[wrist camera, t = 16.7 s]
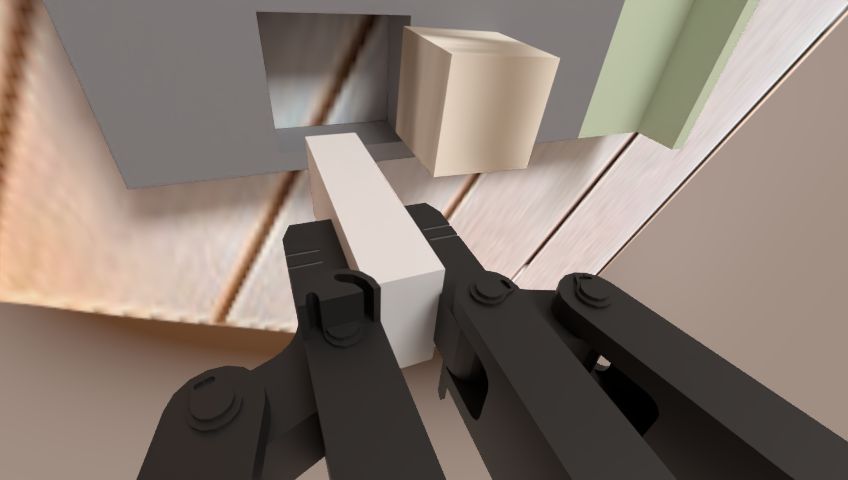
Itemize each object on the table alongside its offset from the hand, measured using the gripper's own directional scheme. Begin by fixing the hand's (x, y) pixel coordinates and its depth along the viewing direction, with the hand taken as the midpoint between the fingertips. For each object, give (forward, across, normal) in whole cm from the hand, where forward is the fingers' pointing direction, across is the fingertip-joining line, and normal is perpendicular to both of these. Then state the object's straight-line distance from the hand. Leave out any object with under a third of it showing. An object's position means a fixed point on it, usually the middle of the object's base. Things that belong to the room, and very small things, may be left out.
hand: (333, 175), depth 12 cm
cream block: (+8, +7, 0) cm, 10 cm away
